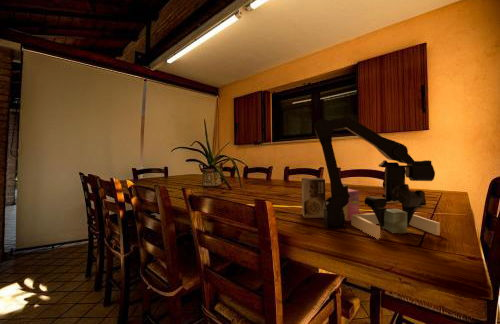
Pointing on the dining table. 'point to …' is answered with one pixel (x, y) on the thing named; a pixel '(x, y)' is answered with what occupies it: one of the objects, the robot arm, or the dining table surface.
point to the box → (352, 204)
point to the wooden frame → (369, 226)
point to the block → (395, 221)
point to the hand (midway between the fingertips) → (394, 225)
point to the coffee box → (313, 197)
